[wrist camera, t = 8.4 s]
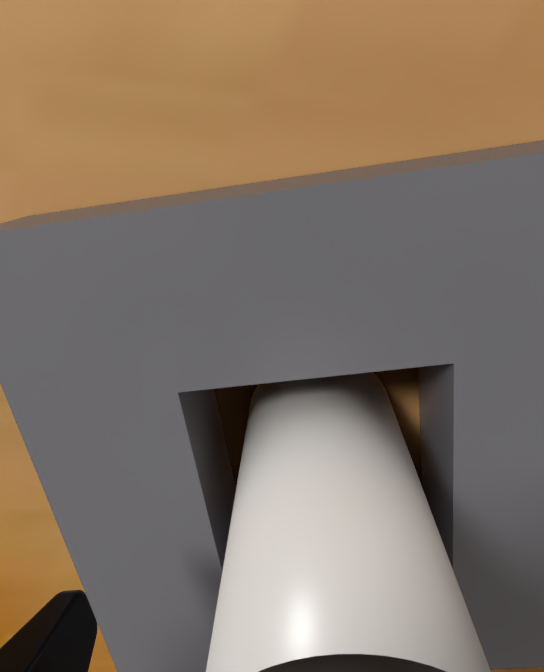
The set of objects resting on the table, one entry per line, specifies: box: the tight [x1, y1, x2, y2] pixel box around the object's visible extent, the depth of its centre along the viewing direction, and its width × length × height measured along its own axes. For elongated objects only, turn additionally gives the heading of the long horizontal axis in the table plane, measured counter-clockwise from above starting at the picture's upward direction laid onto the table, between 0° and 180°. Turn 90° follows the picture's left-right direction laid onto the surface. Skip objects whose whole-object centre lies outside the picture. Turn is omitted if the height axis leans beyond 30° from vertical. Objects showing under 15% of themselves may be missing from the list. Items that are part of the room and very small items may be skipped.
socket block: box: [0, 140, 544, 672], centre depth 12 cm, size 13×13×3 cm
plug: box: [206, 372, 491, 672], centre depth 9 cm, size 4×4×9 cm
